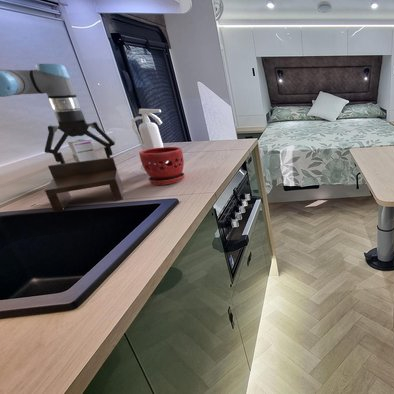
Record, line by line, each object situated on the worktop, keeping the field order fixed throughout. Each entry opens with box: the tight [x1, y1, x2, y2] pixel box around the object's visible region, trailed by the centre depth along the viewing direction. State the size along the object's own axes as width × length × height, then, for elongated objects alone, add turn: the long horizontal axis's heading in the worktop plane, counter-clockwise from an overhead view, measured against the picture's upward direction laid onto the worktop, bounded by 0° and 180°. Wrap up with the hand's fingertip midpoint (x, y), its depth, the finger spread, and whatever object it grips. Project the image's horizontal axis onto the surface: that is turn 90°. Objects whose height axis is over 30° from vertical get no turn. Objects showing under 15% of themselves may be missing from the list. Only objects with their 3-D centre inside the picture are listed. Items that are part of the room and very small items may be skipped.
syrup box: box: [66, 138, 98, 162], centre depth 112 cm, size 6×6×14 cm
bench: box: [44, 157, 124, 214], centre depth 91 cm, size 16×14×11 cm
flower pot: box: [138, 146, 186, 186], centre depth 106 cm, size 13×13×12 cm
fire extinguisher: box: [131, 108, 169, 172], centre depth 116 cm, size 7×12×25 cm, turn 106°
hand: (89, 166), depth 113 cm, fingers open, 13 cm apart
